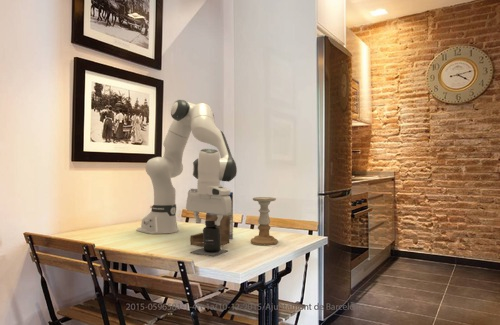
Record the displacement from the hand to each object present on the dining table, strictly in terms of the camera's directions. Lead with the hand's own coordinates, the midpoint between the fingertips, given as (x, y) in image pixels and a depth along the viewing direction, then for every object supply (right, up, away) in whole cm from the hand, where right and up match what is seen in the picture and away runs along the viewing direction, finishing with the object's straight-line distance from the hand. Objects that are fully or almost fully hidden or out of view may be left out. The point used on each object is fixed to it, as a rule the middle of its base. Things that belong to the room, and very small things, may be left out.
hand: (207, 224), depth 144 cm
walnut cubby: (-1, -11, +16) cm, 19 cm away
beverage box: (+2, -12, +29) cm, 31 cm away
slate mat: (+1, -11, 0) cm, 11 cm away
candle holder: (+23, -12, +19) cm, 32 cm away
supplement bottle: (+2, -11, -1) cm, 11 cm away
